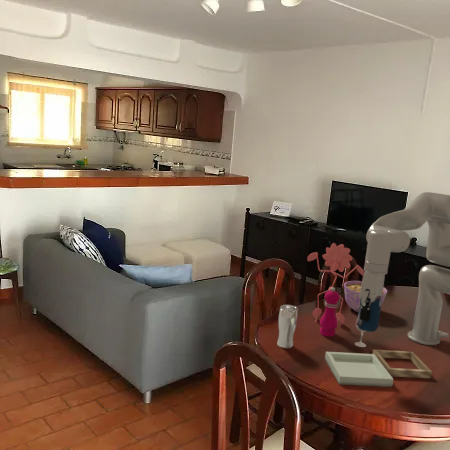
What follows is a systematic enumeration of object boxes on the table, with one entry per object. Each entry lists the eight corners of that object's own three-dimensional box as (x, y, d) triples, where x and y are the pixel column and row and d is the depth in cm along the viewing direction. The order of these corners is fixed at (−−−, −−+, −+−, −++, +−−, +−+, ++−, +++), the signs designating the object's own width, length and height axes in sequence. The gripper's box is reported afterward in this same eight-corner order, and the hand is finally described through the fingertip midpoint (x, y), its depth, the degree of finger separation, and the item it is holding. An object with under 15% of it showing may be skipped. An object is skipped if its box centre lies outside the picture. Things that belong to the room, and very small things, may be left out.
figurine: (356, 333, 202) (367, 251, 196) (296, 319, 212) (306, 241, 206) (361, 322, 215) (372, 245, 210) (305, 309, 226) (314, 236, 220)
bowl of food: (388, 310, 233) (392, 287, 231) (377, 322, 216) (381, 297, 214) (348, 300, 243) (351, 278, 241) (334, 310, 227) (337, 287, 224)
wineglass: (360, 348, 187) (364, 319, 184) (349, 342, 192) (353, 314, 189) (371, 346, 189) (375, 318, 187) (360, 340, 194) (364, 312, 192)
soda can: (381, 330, 165) (386, 296, 163) (371, 334, 160) (376, 300, 158) (362, 323, 170) (367, 290, 167) (352, 327, 165) (357, 294, 163)
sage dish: (372, 361, 177) (374, 354, 176) (392, 386, 159) (393, 379, 159) (324, 358, 176) (325, 351, 175) (338, 384, 158) (340, 376, 157)
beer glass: (295, 343, 187) (299, 306, 184) (292, 350, 180) (296, 312, 177) (278, 339, 189) (282, 303, 186) (273, 346, 182) (278, 308, 179)
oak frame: (411, 357, 183) (412, 351, 182) (430, 378, 168) (431, 371, 167) (371, 355, 182) (372, 349, 181) (387, 376, 166) (388, 369, 166)
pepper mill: (336, 338, 194) (342, 291, 191) (318, 335, 196) (324, 288, 192) (335, 331, 201) (342, 286, 198) (318, 329, 203) (324, 283, 199)
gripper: (374, 260, 170) (366, 308, 173) (355, 268, 156) (348, 320, 159) (395, 265, 166) (387, 314, 169) (378, 274, 152) (370, 327, 155)
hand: (368, 317), depth 164 cm, fingers closed on soda can, 7 cm apart
